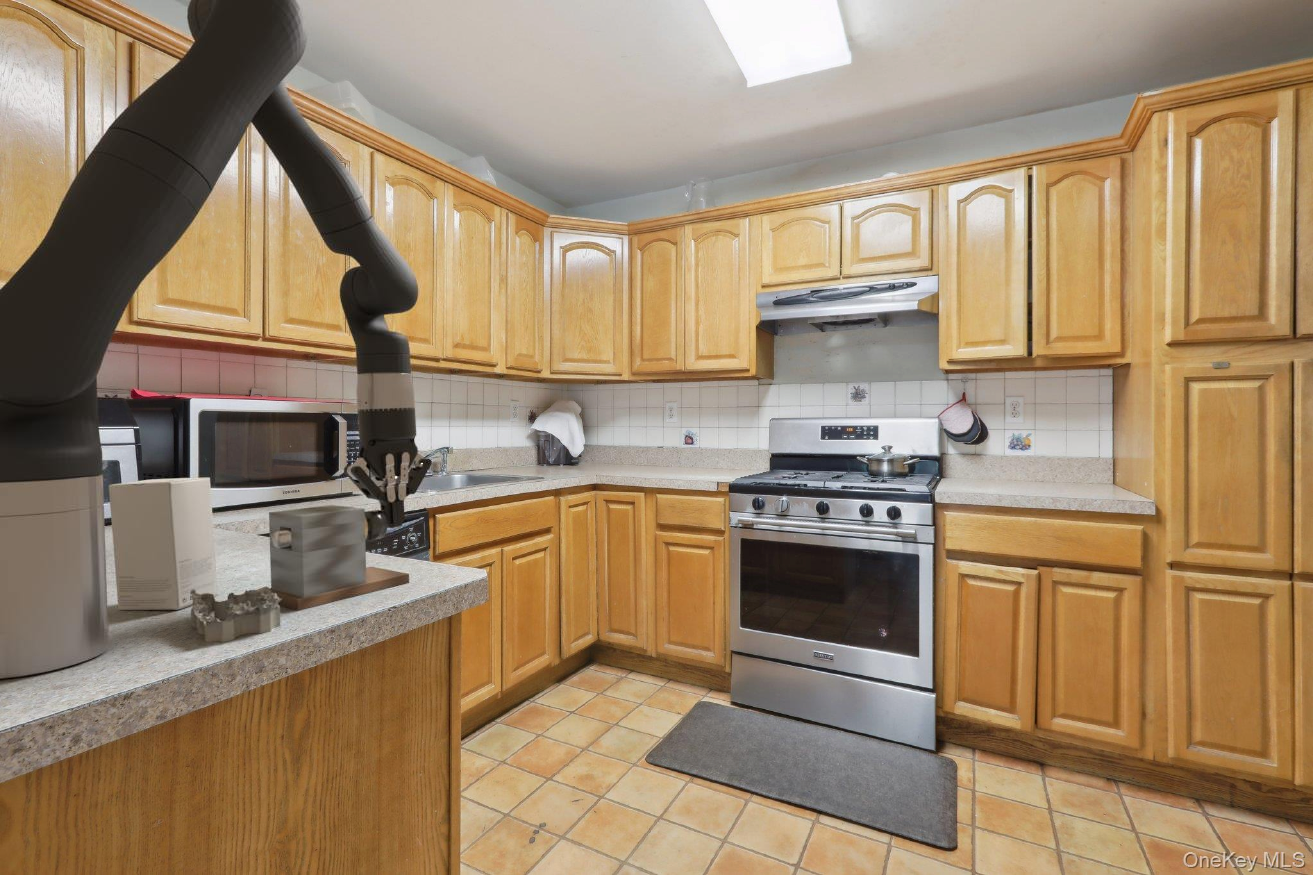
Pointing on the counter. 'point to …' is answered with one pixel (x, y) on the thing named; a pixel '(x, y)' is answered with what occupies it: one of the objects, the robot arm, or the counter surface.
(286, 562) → the bearing block
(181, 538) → the skincare box
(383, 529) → the shaft
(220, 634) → the egg carton
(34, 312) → the robot arm
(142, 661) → the counter surface
